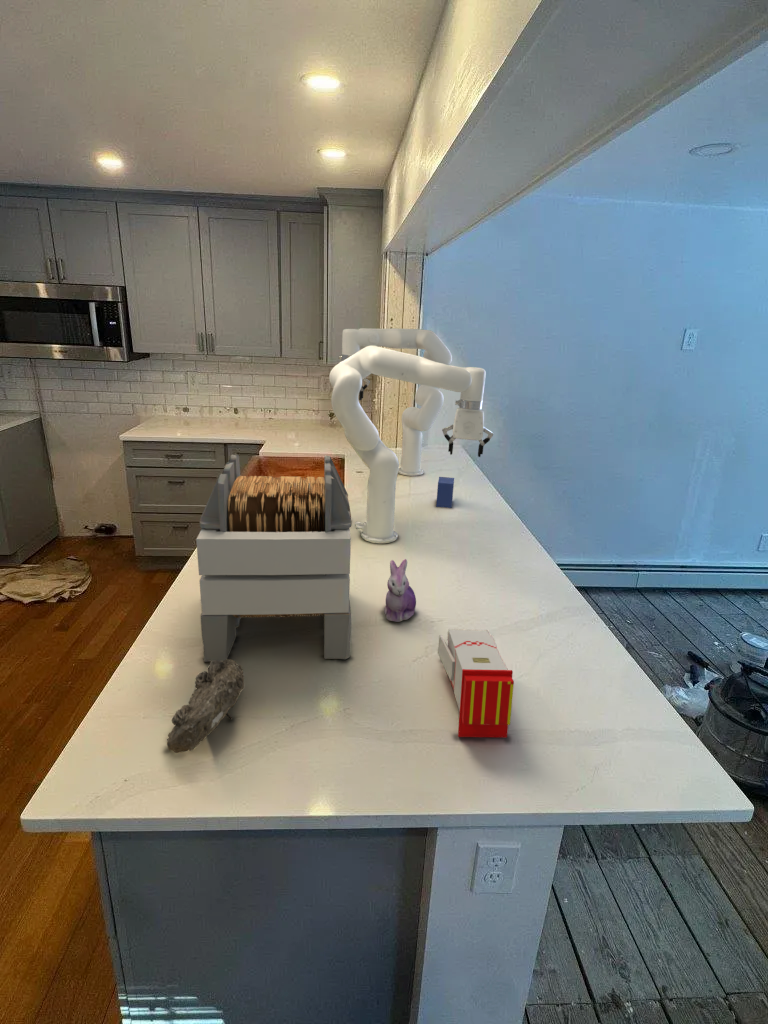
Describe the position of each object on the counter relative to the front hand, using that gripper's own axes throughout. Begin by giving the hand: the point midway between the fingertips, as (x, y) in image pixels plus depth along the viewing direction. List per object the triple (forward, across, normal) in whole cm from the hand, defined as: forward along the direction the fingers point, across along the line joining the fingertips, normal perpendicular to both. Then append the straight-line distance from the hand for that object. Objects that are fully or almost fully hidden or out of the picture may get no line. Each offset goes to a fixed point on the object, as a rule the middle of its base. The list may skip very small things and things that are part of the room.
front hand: (465, 454), depth 196 cm
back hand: (-8, -49, +55) cm, 74 cm away
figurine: (+29, -16, -63) cm, 71 cm away
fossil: (+30, -48, -108) cm, 122 cm away
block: (+28, -4, +29) cm, 41 cm away
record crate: (+30, -45, -72) cm, 90 cm away
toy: (+29, +1, -92) cm, 97 cm away
